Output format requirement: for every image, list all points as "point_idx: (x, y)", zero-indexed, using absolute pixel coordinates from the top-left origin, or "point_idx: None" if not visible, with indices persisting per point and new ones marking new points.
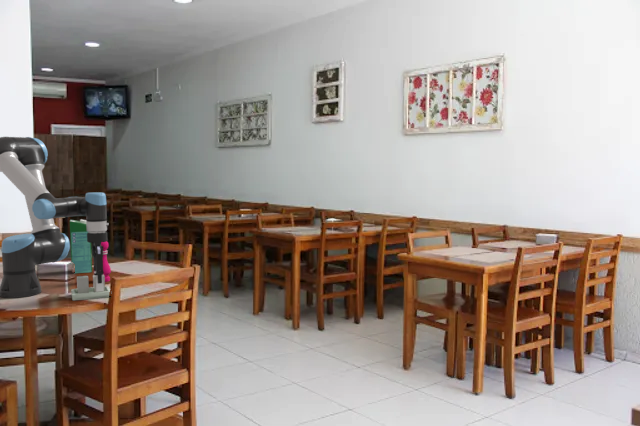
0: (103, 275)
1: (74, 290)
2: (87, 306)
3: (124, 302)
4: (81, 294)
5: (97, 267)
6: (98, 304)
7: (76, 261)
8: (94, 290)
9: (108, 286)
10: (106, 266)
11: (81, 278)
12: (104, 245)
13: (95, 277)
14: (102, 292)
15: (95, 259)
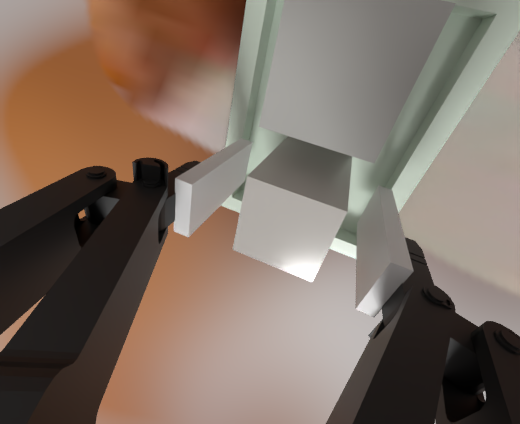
0: (263, 257)
1: (489, 19)
2: (88, 10)
3: None
4: (244, 24)
5: (31, 206)
6: (113, 80)
7: None
8: (282, 143)
9: (353, 256)
10: None
11: (276, 41)
12: None
13: (245, 187)
14: None
15: (24, 323)
